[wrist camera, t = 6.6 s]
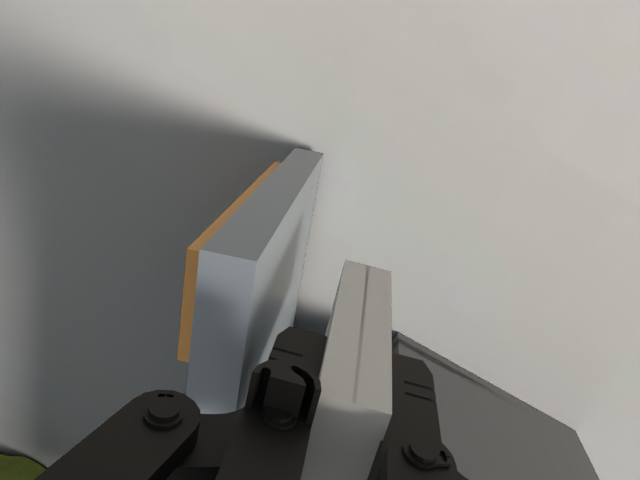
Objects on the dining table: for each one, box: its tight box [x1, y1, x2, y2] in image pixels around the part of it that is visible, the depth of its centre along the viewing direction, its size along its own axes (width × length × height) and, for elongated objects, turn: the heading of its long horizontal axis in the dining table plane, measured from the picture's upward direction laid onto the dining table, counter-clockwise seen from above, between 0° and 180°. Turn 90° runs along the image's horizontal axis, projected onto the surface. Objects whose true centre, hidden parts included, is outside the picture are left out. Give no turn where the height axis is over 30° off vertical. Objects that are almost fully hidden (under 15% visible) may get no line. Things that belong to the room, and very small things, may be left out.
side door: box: [177, 148, 324, 414], centre depth 20 cm, size 2×22×12 cm, turn 170°
